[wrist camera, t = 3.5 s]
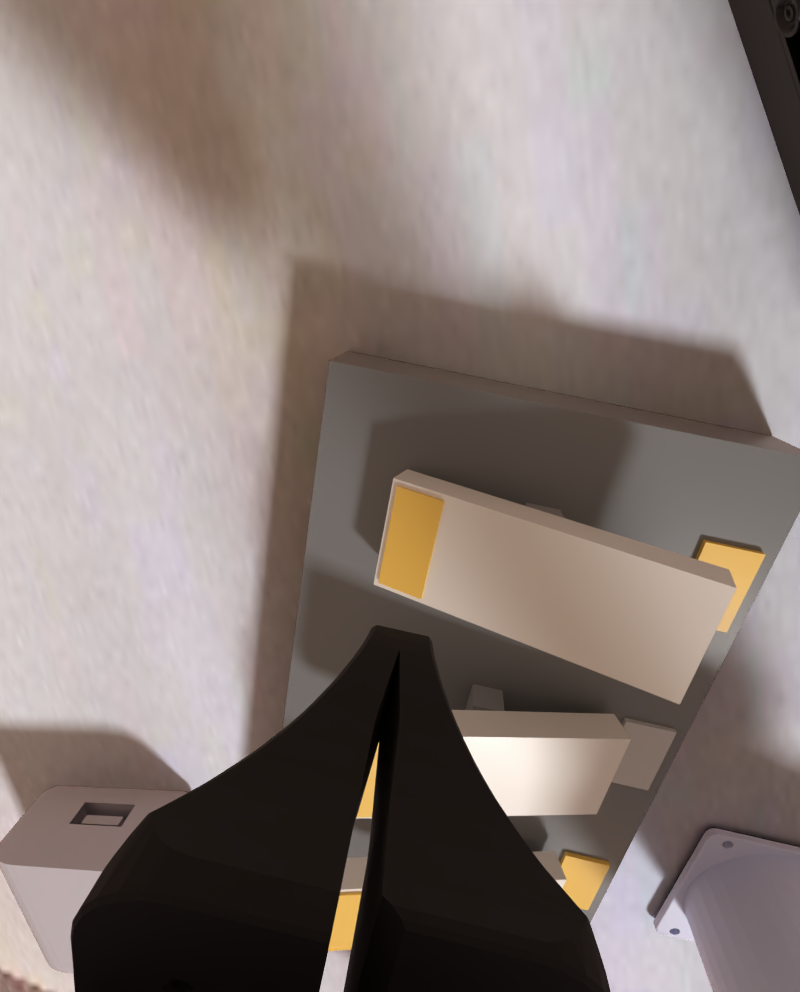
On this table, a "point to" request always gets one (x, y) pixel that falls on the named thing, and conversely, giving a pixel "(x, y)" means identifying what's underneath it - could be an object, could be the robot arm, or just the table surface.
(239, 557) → the table surface
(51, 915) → the charger
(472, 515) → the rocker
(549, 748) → the block
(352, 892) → the block
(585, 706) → the switch panel
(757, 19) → the black long bar
